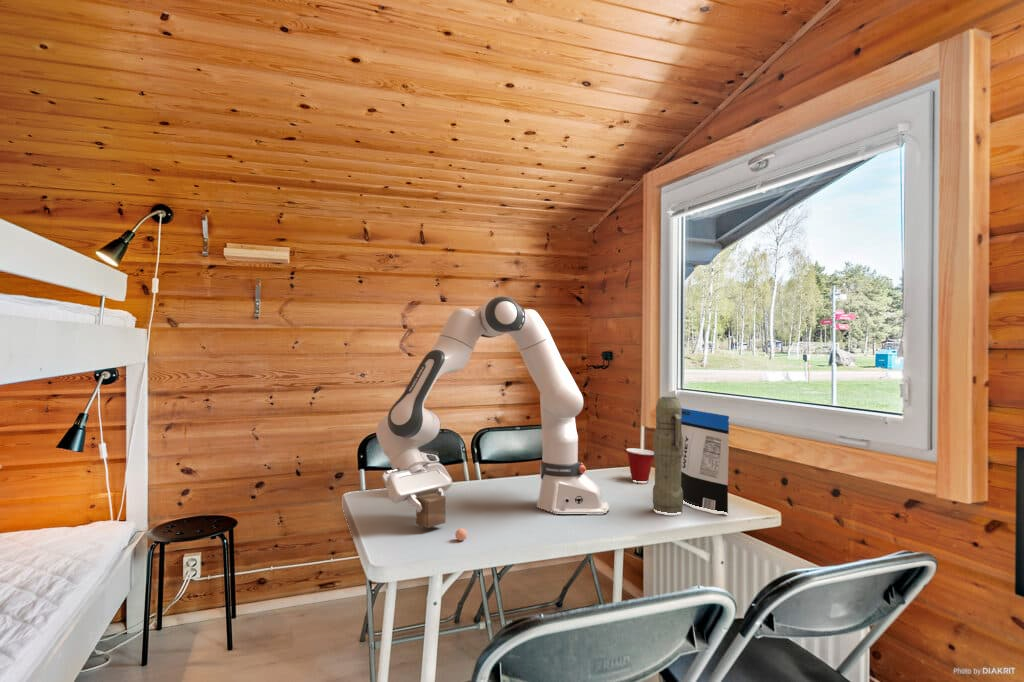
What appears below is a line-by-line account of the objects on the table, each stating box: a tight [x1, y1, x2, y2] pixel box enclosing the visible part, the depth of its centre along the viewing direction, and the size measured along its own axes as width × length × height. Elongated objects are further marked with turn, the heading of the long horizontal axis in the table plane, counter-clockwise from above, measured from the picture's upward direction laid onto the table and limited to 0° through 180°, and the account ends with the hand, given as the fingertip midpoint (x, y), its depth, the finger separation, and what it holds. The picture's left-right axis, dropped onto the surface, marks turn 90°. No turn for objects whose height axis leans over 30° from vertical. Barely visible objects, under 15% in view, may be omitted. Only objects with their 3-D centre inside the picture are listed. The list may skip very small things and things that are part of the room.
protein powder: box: [681, 407, 730, 514], centre depth 188 cm, size 10×24×30 cm, turn 20°
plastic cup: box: [626, 447, 655, 481], centre depth 219 cm, size 11×11×12 cm
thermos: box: [652, 396, 684, 513], centre depth 180 cm, size 9×12×35 cm
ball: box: [454, 528, 468, 542], centre depth 151 cm, size 3×3×3 cm
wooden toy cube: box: [415, 493, 447, 529], centre depth 160 cm, size 5×6×7 cm
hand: (432, 507), depth 160 cm, fingers closed on wooden toy cube, 6 cm apart
